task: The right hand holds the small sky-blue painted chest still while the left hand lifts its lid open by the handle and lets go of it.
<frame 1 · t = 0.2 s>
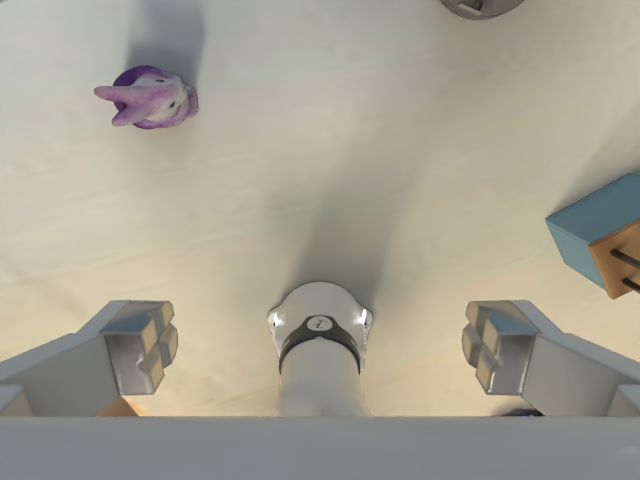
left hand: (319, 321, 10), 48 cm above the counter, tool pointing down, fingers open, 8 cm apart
figurine: (167, 97, 53), on the counter
chest: (595, 220, 59), on the counter
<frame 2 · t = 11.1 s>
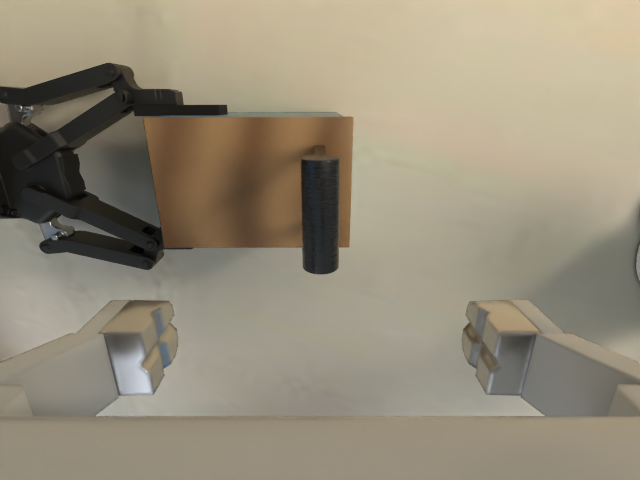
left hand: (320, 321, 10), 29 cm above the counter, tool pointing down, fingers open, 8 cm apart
right hand: (228, 173, 31), fingers closed on chest, 9 cm apart
lid: (242, 199, 23), point 15 cm above the counter, hinge at 0.0°
chest: (269, 161, 37), on the counter, touching right hand
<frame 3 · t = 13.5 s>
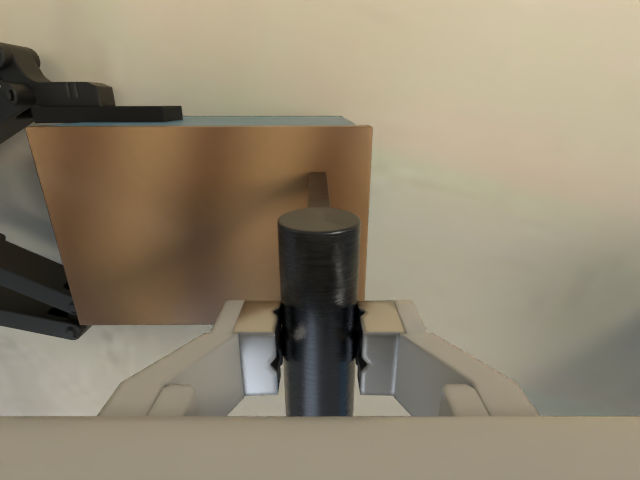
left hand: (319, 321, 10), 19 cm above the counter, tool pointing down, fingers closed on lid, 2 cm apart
lid: (184, 270, 13), point 15 cm above the counter, hinge at -0.1°, touching left hand
chest: (250, 182, 27), on the counter, touching right hand
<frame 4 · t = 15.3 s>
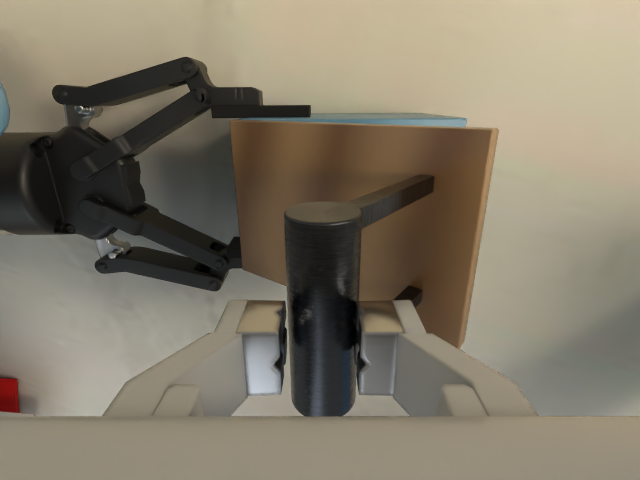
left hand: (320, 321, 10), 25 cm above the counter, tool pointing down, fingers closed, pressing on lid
right hand: (311, 183, 27), fingers closed on chest, 9 cm apart
lid: (281, 241, 16), point 19 cm above the counter, hinge at 36.6°, touching left hand
chest: (341, 168, 33), on the counter, touching right hand
when the right hand's fingers open (7 cm above the counter, at t = 20.5 s): chest stays where it is, on the counter.
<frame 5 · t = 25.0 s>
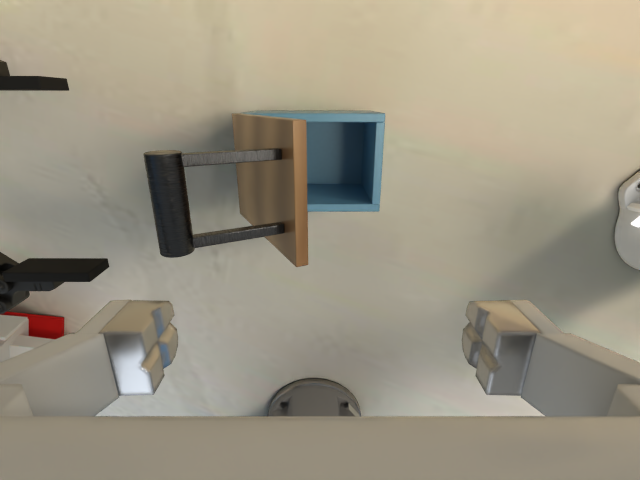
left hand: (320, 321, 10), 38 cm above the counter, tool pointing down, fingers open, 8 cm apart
lid: (213, 183, 27), point 19 cm above the counter, hinge at 63.1°
chest: (313, 151, 45), on the counter
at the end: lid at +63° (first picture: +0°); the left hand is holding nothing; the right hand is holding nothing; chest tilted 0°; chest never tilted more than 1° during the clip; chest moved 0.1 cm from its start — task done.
